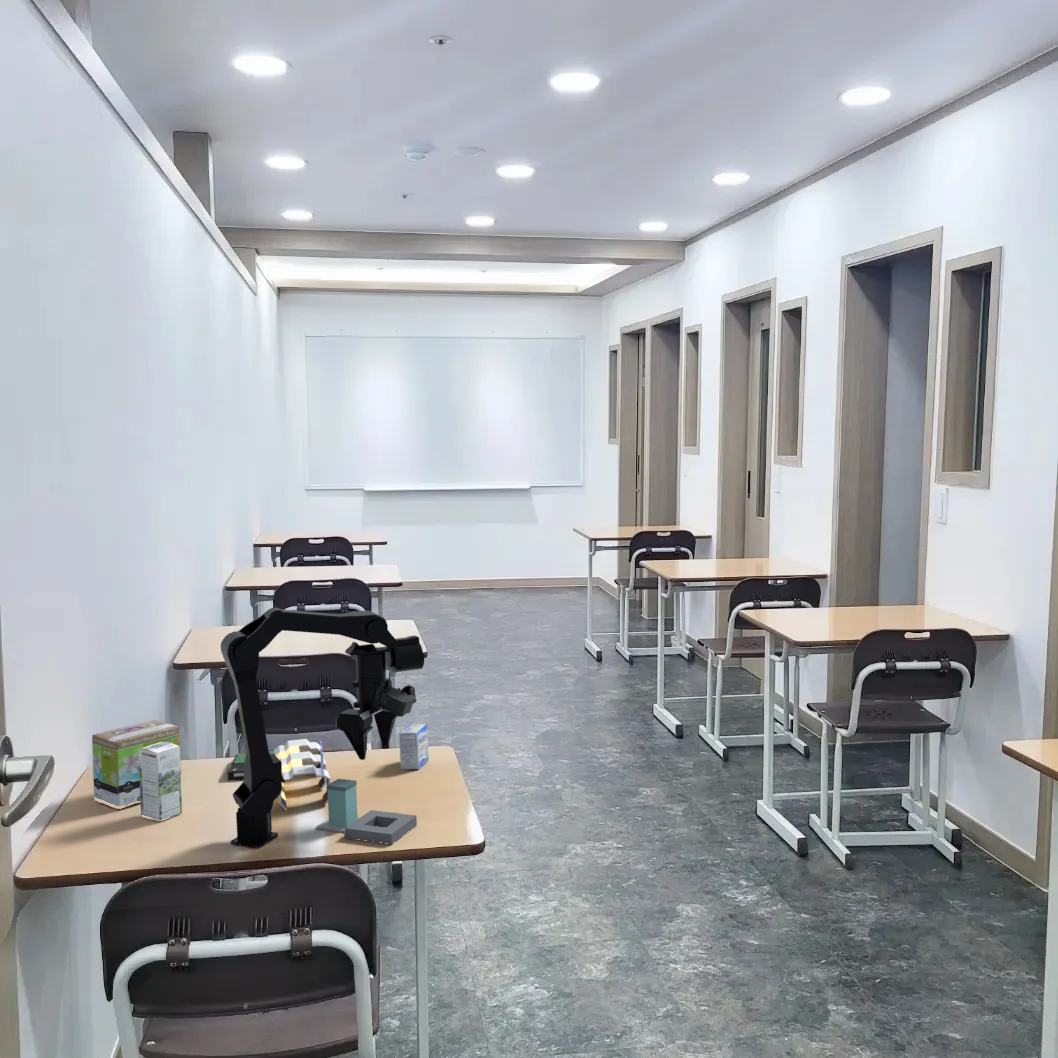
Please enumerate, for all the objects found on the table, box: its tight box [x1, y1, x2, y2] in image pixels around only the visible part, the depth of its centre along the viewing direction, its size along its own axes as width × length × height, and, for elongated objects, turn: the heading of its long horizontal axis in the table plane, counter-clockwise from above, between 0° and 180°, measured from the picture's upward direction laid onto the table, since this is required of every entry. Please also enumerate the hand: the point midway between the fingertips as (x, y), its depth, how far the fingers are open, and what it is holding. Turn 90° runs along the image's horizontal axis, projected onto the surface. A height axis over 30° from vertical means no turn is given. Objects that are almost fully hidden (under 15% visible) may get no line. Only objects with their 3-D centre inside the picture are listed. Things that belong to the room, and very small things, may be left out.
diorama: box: [273, 738, 331, 812], centre depth 221 cm, size 25×10×13 cm, turn 16°
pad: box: [315, 816, 361, 833], centre depth 200 cm, size 7×7×1 cm
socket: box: [344, 809, 418, 845], centre depth 196 cm, size 10×10×2 cm
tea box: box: [91, 719, 182, 806], centre depth 219 cm, size 15×10×15 cm, turn 143°
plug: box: [326, 778, 358, 828], centre depth 199 cm, size 4×4×8 cm
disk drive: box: [227, 749, 275, 782], centre depth 236 cm, size 10×3×15 cm
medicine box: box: [398, 723, 430, 770], centre depth 236 cm, size 8×4×9 cm, turn 168°
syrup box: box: [138, 742, 183, 820], centre depth 206 cm, size 6×6×14 cm
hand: (374, 752), depth 203 cm, fingers open, 9 cm apart
